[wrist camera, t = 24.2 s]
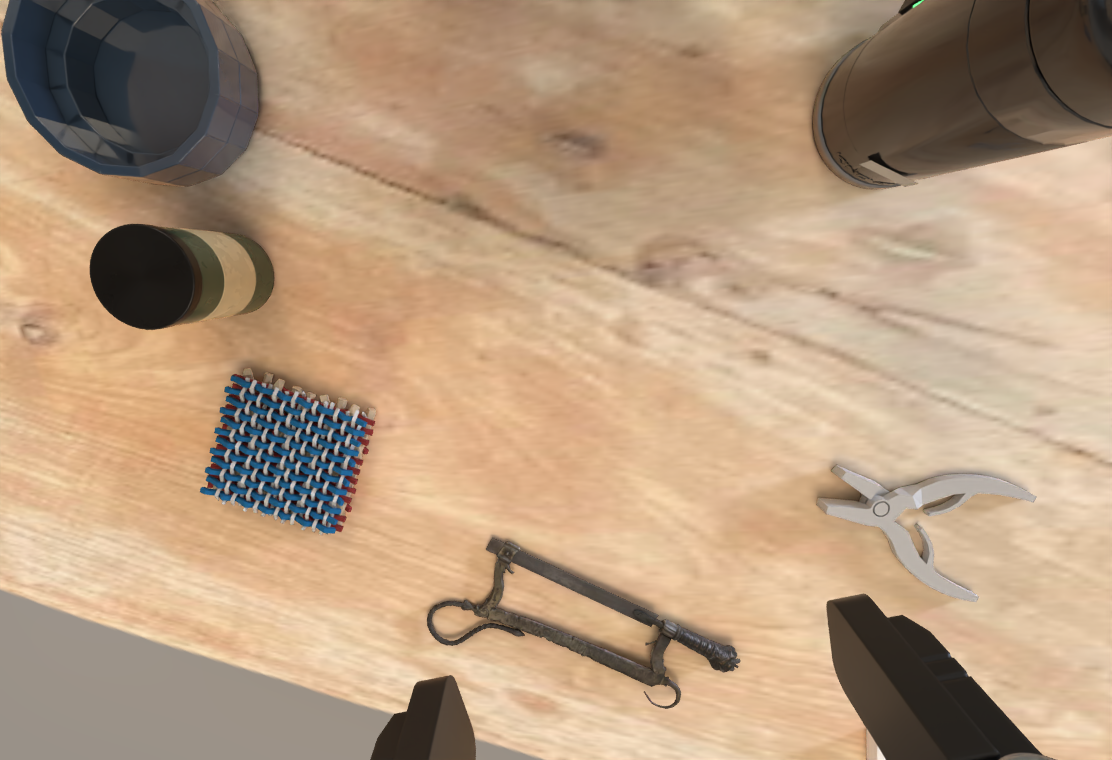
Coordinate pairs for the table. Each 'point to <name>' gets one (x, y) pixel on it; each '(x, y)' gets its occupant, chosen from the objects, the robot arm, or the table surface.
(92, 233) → the table surface
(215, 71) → the slate bowl
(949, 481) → the pliers
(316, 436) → the woven mat
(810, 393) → the table surface
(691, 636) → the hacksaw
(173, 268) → the green tin
